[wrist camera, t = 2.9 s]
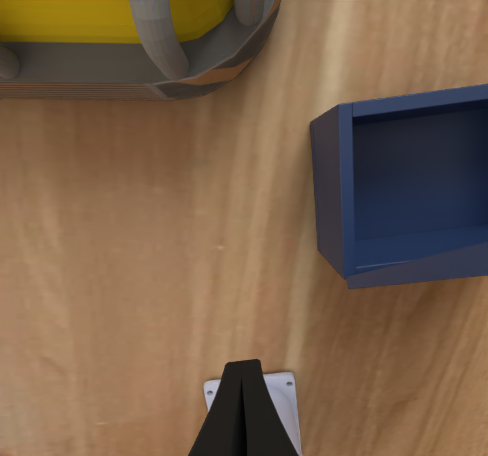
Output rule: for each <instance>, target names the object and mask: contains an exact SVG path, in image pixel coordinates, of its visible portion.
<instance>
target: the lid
mask: <svg viewBox="0 0 488 456" xmlns="http://www.w3.org/2000/svg"><path fill="white" fill-rule="evenodd" d="M485 275H488V242H484V243H480V244H476V245H472V246H468V247H464V248H460V249H456V250H452V251H448V252H444V253H440V254H436V255H432V256H428V257H424V258H420V259H416V260H412V261H408V262H403V263H399V264H395V265H391V266H387V267H383V268H379V269H375V270H371V271H367V272H363V273H359V274H355V275H351V276H347V277H346V280H347V285H348V289H358V288H367V287H377V286H387V285H397V284H407V283H416V282H426V281H436V280H446V279H456V278H465V277H475V276H485Z"/></svg>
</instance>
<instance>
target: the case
mask: <svg viewBox="0 0 488 456" xmlns="http://www.w3.org/2000/svg"><path fill="white" fill-rule="evenodd" d="M310 127H311V144H312V161H313V178H314V195H315V212H316V229H317V246H318V251H319V252H320V253H321V254H322V255H323V256H324V258H325V259H326V260H327V261H328V262H329V263H330V264H331V265H332V267H333V268H334V269H335V270H336V271H337V272H338V273H339V274H340V275H341V277H342V278H343V279H346V277H347V276H351V275H355V274H359V273H363V272H367V271H371V270H375V269H379V268H383V267H387V266H391V265H395V264H399V263H403V262H408V261H412V260H416V259H420V258H424V257H428V256H432V255H436V254H440V253H444V252H448V251H452V250H456V249H460V248H464V247H468V246H472V245H476V244H480V243H484V242H488V84H483V85H475V86H468V87H461V88H453V89H446V90H439V91H431V92H424V93H417V94H409V95H402V96H395V97H387V98H380V99H373V100H365V101H358V102H352V103H343V104H338V105H337V106H335V107H333V108H332V109H330V110H329V111H327V112H325V113H324V114H322V115H321V116H319V117H317V118H316V119H314V120H313V121H311V122H310Z"/></svg>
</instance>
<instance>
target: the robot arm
mask: <svg viewBox="0 0 488 456" xmlns="http://www.w3.org/2000/svg"><path fill="white" fill-rule="evenodd" d="M288 382H290V383H288ZM209 391H212V392H209ZM204 394H205V398H206V403H207V408H208V415H207V417H206V419H205V421H204V423H203V426H202V428H201V430H200V432H199V434H198V436H197V438H196V441H195V443H194V445H193V447H192V449H191V451H190V453H189V455H188V456H303V455H302V450H301V441H300V431H299V420H298V410H297V399H296V389H295V379H294V375H293V373H291V372H282V373H273V374H264V375H263V373H262V368H261V362H260V360H258V359H253V360H244V361H236V362H228V363H227V364H226V365H225V368H224V372H223V375H222V378H221V379H219V380H211V381H206V382H205V383H204Z"/></svg>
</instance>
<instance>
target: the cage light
mask: <svg viewBox="0 0 488 456" xmlns="http://www.w3.org/2000/svg"><path fill="white" fill-rule="evenodd" d="M280 2H281V0H0V98H7V99H88V100H169V101H171V100H177V99H184V98H190V97H196V96H202V95H206V94H208V93H209V92H211V91H213V90H215V89H217V88H218V87H220V86H222V85H224V84H226V83H227V82H229V81H231V80H233V79H235V78H236V77H237V76H238V75H239V73H240V72H241V71H242V70H243V69H244V68H245V67H246V66H247V65H248V64H249V62H250V61H251V60H252V59H253V58H254V57H255V56H256V55H257V54H258V53H259V51H260V50H261V48H262V46H263V44H264V42H265V40H266V37H267V35H268V33H269V31H270V29H271V27H272V25H273V23H274V20H275V18H276V16H277V14H278V11H279V6H280Z"/></svg>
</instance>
